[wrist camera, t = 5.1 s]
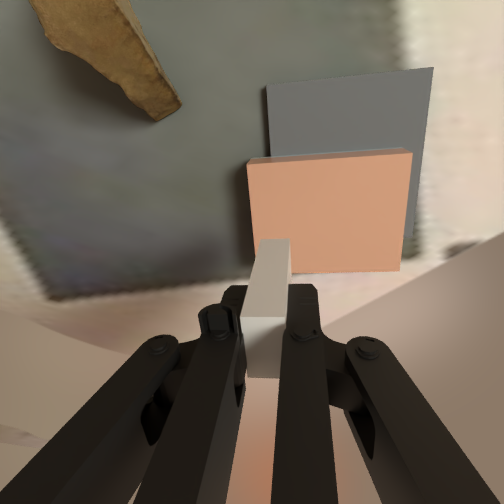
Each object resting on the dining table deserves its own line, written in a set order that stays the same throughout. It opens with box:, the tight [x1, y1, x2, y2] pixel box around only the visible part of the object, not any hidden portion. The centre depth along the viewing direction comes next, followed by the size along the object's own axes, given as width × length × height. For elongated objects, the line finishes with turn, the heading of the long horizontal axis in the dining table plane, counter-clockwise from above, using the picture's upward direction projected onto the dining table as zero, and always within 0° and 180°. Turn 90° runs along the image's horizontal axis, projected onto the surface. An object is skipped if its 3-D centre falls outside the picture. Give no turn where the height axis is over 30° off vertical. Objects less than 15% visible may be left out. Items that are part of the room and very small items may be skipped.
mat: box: [266, 67, 434, 238], centre depth 23 cm, size 10×11×1 cm
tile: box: [247, 147, 413, 273], centre depth 23 cm, size 2×8×10 cm
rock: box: [29, 0, 182, 121], centre depth 19 cm, size 11×9×10 cm
